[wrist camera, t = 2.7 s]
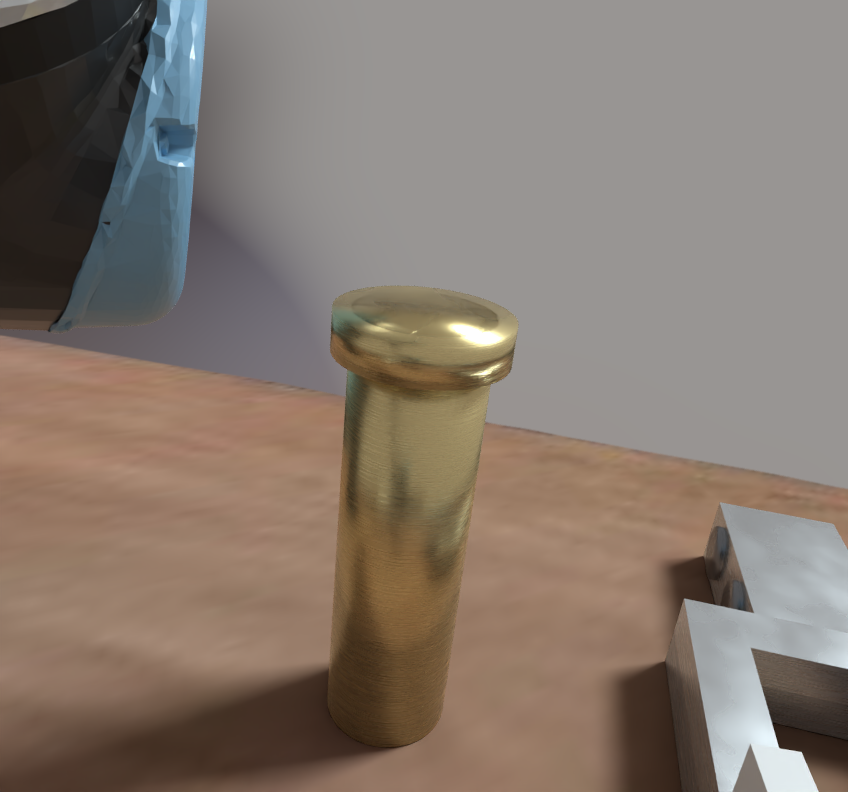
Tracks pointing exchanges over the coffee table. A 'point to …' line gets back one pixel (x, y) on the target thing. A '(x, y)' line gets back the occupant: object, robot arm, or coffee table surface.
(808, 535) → the grey link plate
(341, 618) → the pin
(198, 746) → the coffee table surface
